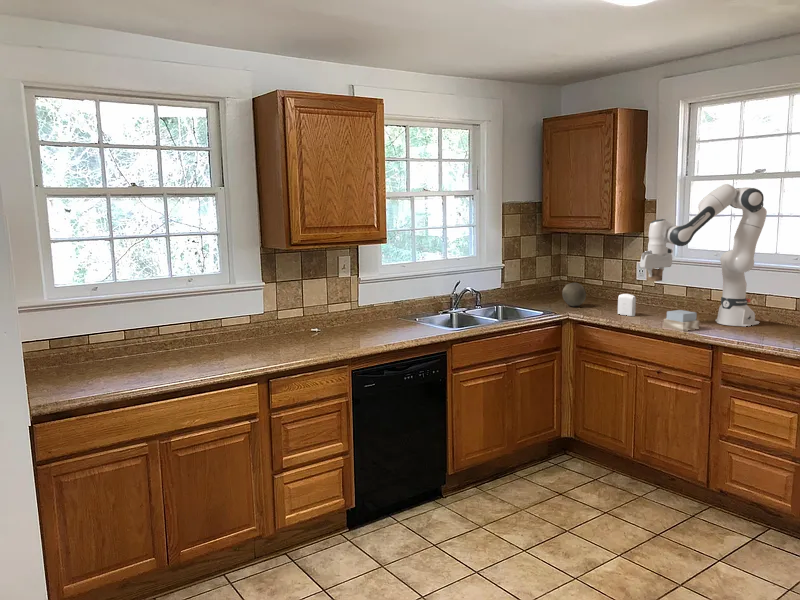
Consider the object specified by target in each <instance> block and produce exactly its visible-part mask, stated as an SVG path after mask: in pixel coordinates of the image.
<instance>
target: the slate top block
mask: <svg viewBox="0 0 800 600" xmlns="http://www.w3.org/2000/svg"><path fill="white" fill-rule="evenodd" d="M697 314H698V312H695V311H689V310H684V309H683V310H682V309H676V310H667V311H666V318H665V319H669V320H674V321H679V322H688V321H696V320H697Z"/></svg>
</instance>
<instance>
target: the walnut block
mask: <svg viewBox="0 0 800 600" xmlns="http://www.w3.org/2000/svg"><path fill="white" fill-rule="evenodd" d="M651 271H652V273H653V277H649V273H648V272H647V281H649V282H650V281H651V282H662V281H663V275H664V273H663V272H664V270H663V269H659V268H652V270H651Z"/></svg>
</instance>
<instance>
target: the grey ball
mask: <svg viewBox="0 0 800 600" xmlns="http://www.w3.org/2000/svg"><path fill="white" fill-rule="evenodd" d="M561 291H562V293H561V295H562V300H563V301H564V302H565V303H566V304H567V305H568V306H570V307H575V308H577V307H579V306H581V305H582V304H583V303H585V301H586V299H587V298H586V297H587V293H586V290H585V287H584V286H583V285H582V284H581V283H579V282H571V283H567V284H565V286H564V287H563V288H562V290H561Z"/></svg>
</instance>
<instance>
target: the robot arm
mask: <svg viewBox="0 0 800 600" xmlns="http://www.w3.org/2000/svg"><path fill="white" fill-rule="evenodd" d="M729 206H730V207H731V208H735V209H739V210H742V216H741V219H740V221H739V224H738V225H737V226H738V227H737V228H736V231H735V233H734V236H733V240H734V241H733V247H732V249H731V250H730V249H729V250H726V251H725V252H723V253H722V254H721V256H720V259H719V262H720V264H721V274H722V296H721V297H720V306H719V308H718V312H717V317H716V318H715V322H716V323H717V324H719V325H724V326H734V327H746V326H748V327H752V326H755V325H760V324H759V323H760V321H759V320H756V313H755V311H753V309H751V308H750V306H749V305H748V303H751V298H746V297H747V296H746V295H747V286H748V285H747V281H746V275H745V273H746V272H749V271H751V270H752V269H753V267H754V266H755V259H754V258H755V255H756V248H757V247H756V246H757V245H758V244H757V243H758V241H759V238H760V235H761V233H762V231H763V228H764V225H765V223H766V219H767V209H766V208H765V207H764V194H763V192H762V191H761V190H760V189H758V188H756V187H738V188H737V187H736V188H735V187H734V186H733V185H731V184H730V183H729V184H728V183H724V184H722V185H721V186H718V187H716V188H715V189H714V190H712V191H710V192H709V193H708V194H707V195H706V196H704V197H703V199H702V200H701V201H700V202H699V203H698V207H697V208H698V213H697V214H696V215H694V217H692V219H690V220H689V221H687V223H685V224H683V225H675V224H674V223H671V222H669V221H667V220H666V219H663V218H661V219H659V218H658V219H655V220H652V221H651V222H650V224H649V227H648V235H647V236H648V243H647V250H644V252H642V253H641V257H640V262H639V268H641V269H643V270H646V271H647V274H648V273H649V277H653V273H652V271H651V270H652V269H663V271H664V270H665V268H671V267H672V264H673V251H674V250H673V249H672V248H669V247H668V246H667V244H671V245H675V246H677V247H684V246H687V245H688V244H689V243H690V242H691V241H692V239H693V237H694V236H695V234H696V233H697V232H698V231H699V230H701V229H702V227H704V226H705V225H706V224H707V223H708V222H710V220H712V219H713V218H715V217H716V216H718V215H719V214H720V213H721V212H723V211H724V210H725V209H726V208H728V207H729ZM751 325H752V326H751Z"/></svg>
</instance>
